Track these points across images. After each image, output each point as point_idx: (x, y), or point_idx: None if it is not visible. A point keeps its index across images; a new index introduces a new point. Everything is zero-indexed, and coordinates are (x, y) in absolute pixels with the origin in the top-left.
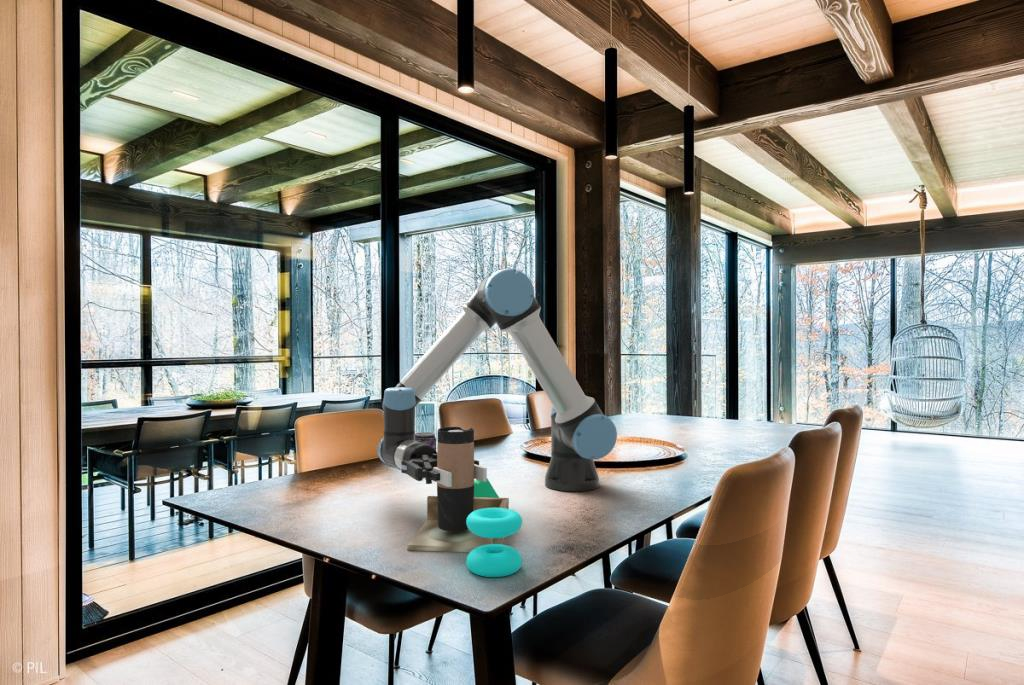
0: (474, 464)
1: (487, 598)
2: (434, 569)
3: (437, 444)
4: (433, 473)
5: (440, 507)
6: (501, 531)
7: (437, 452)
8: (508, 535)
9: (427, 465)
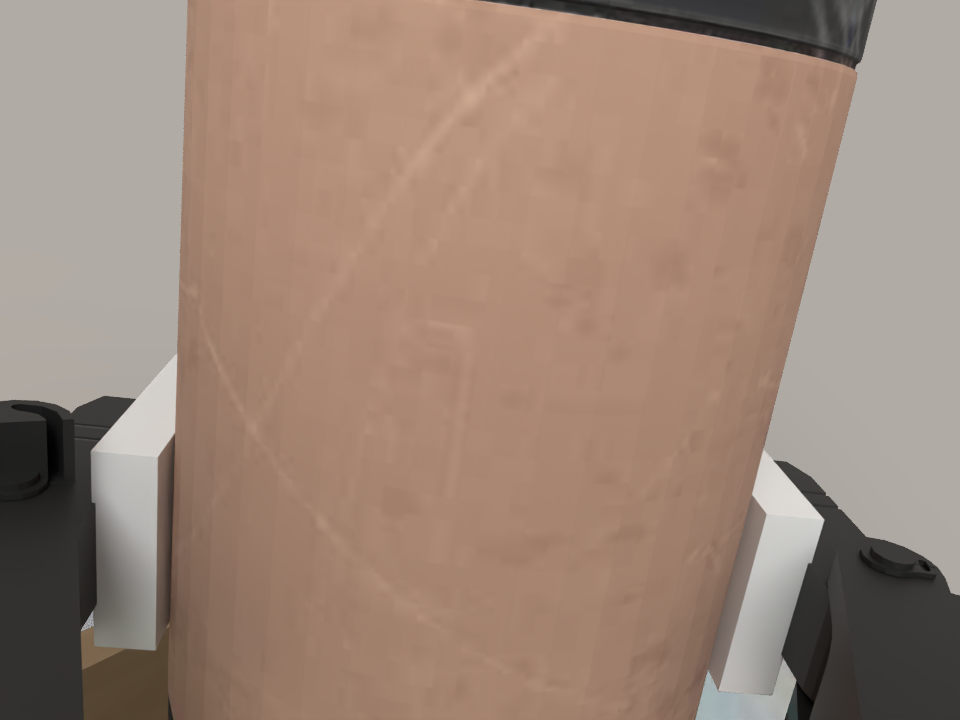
0: (167, 385)
1: None
2: (725, 700)
3: (843, 129)
4: (812, 481)
5: None
6: None
7: (806, 272)
8: None
9: (931, 701)
